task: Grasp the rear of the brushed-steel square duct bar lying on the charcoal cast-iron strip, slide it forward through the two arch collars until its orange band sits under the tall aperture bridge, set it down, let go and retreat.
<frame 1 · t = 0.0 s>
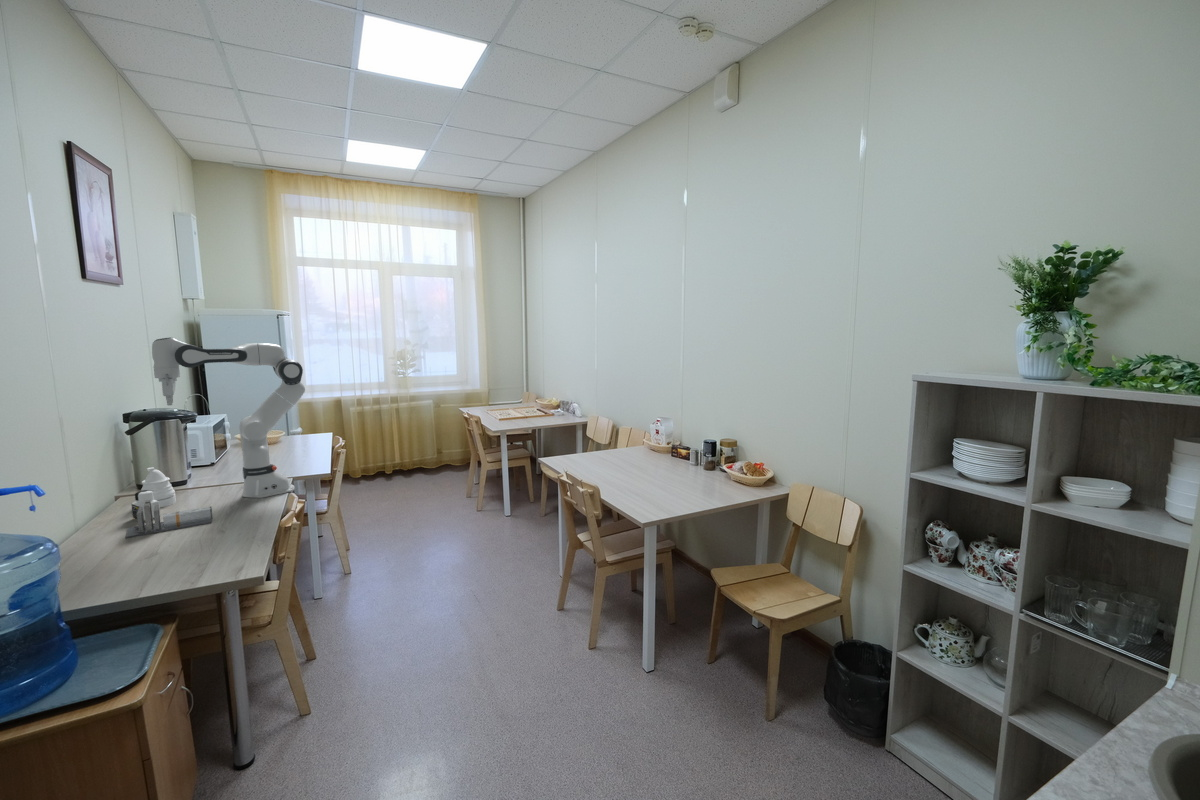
hand: (170, 404, 232), 48 cm above the table, fingers open, 8 cm apart
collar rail: (170, 525, 214), on the table
honey pot: (158, 504, 241), on the table
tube: (189, 521, 218), point 1 cm above the table, touching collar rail
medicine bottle: (147, 518, 223), on the table
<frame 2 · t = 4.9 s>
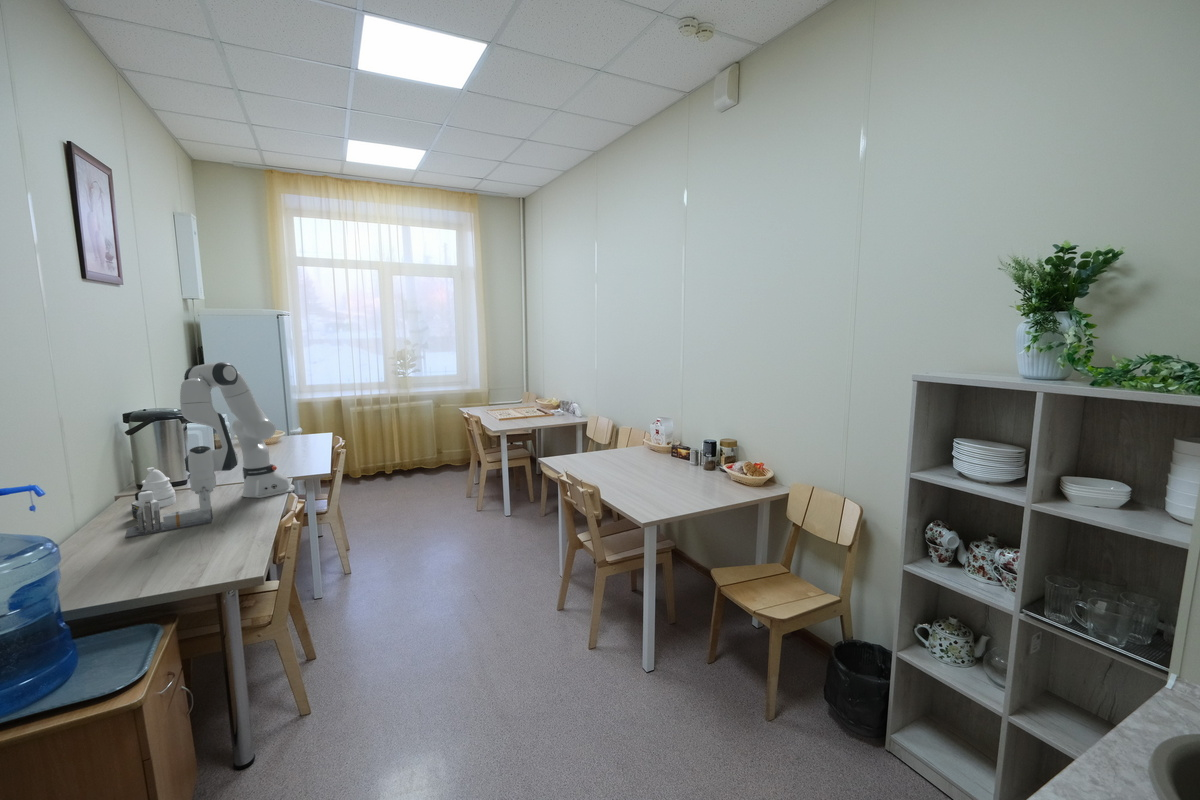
hand: (206, 515, 221), 2 cm above the table, fingers closed on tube, 4 cm apart
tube: (189, 521, 218), point 1 cm above the table, touching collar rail, gripper
everything else where it was.
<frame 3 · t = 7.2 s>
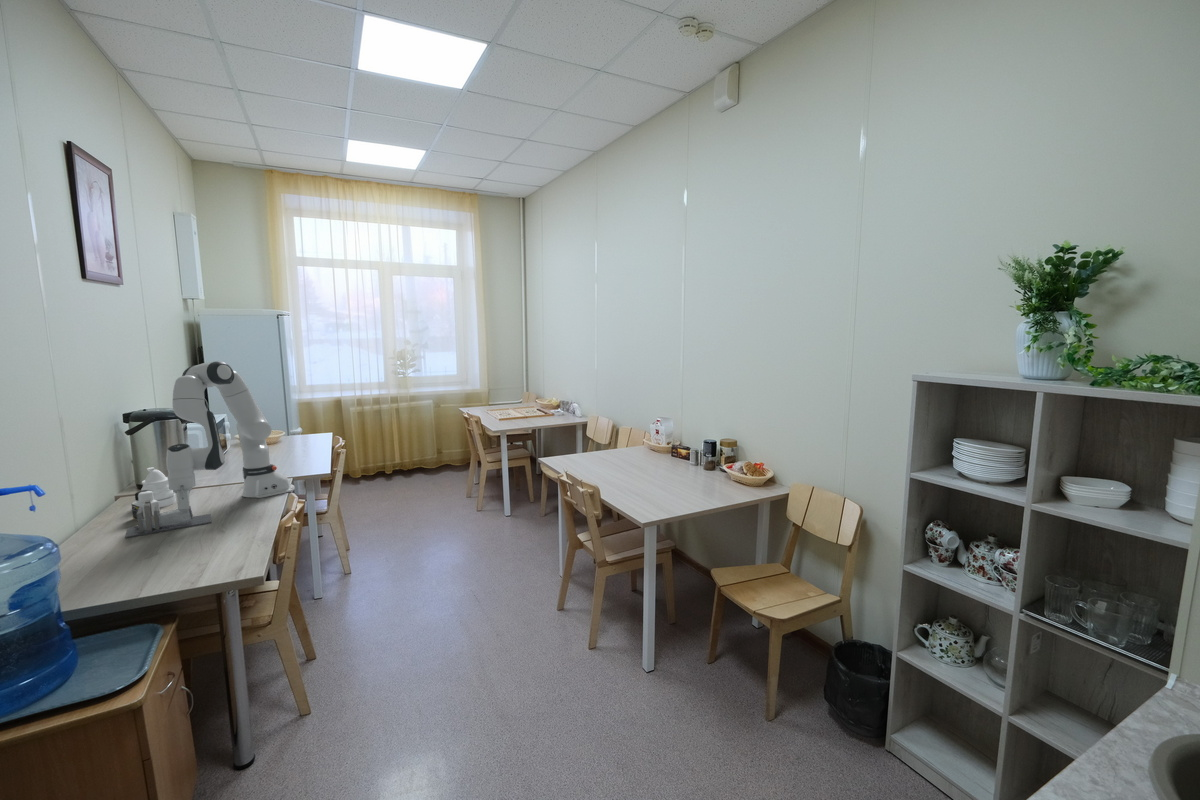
hand: (185, 514, 216), 4 cm above the table, fingers closed on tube, 4 cm apart
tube: (168, 523, 213), point 1 cm above the table, tilted 6°, touching gripper
everything else where it was.
when the fingers open (2 cm above the table, at t = 9.6 s): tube stays where it is, resting on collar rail.
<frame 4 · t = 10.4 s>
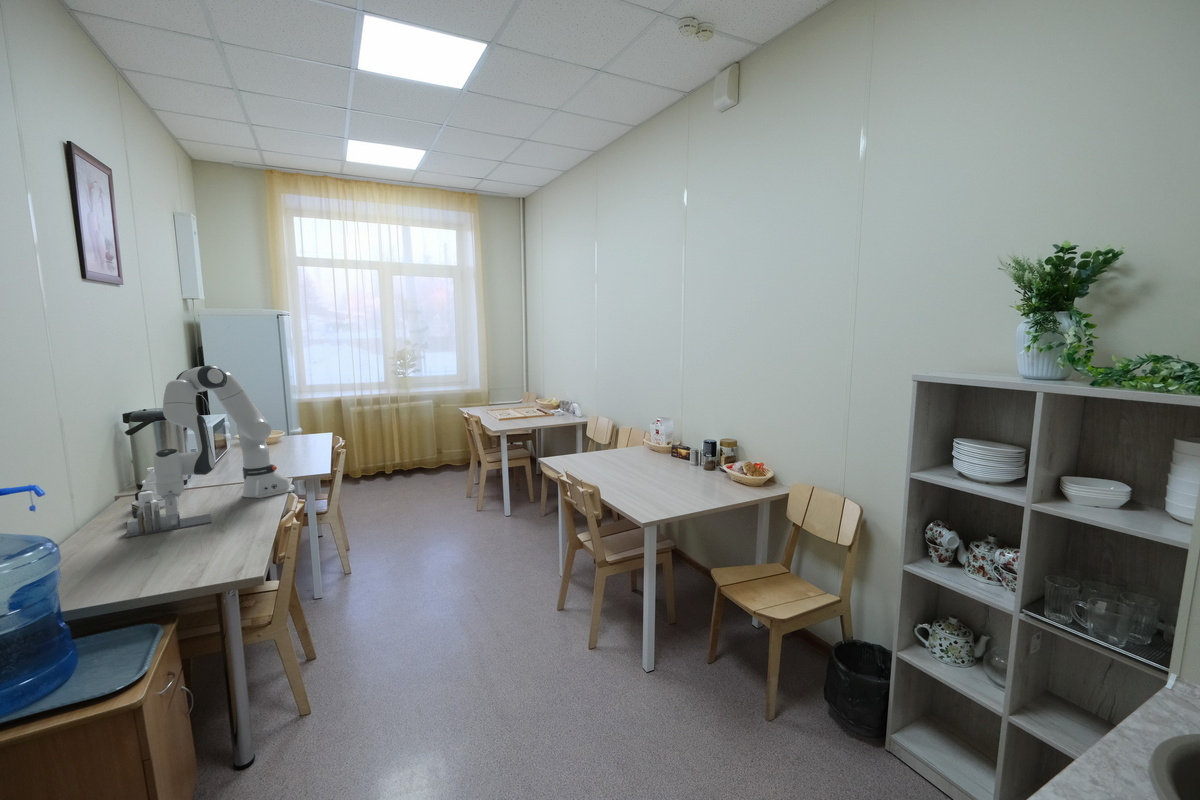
hand: (173, 520, 214), 2 cm above the table, fingers open, 8 cm apart
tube: (155, 527, 211), point 1 cm above the table, touching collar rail
everything else where it was.
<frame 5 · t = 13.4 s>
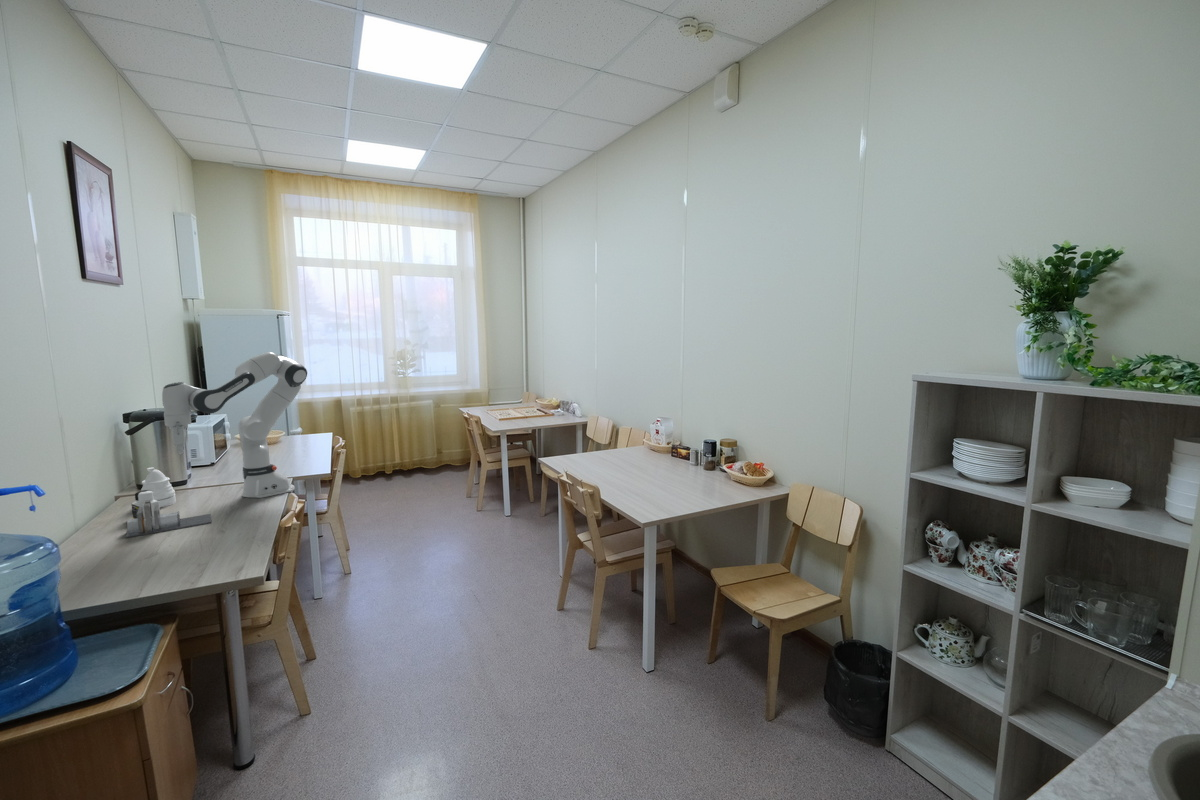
hand: (181, 452, 221), 29 cm above the table, fingers open, 8 cm apart
nothing on the table moved.
at the end: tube 1.5 cm from the target spot on the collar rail, point 0.6 cm above the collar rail's base; the gripper is holding nothing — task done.
